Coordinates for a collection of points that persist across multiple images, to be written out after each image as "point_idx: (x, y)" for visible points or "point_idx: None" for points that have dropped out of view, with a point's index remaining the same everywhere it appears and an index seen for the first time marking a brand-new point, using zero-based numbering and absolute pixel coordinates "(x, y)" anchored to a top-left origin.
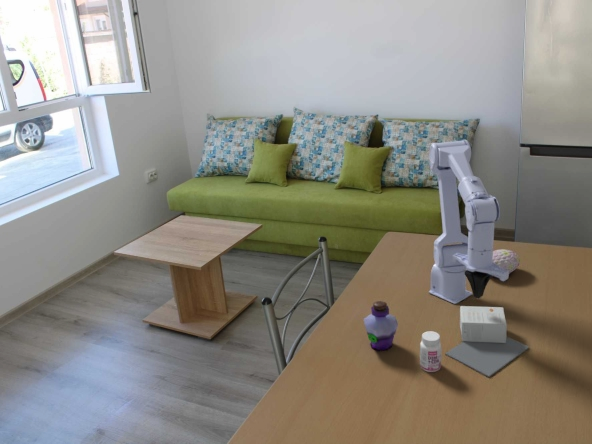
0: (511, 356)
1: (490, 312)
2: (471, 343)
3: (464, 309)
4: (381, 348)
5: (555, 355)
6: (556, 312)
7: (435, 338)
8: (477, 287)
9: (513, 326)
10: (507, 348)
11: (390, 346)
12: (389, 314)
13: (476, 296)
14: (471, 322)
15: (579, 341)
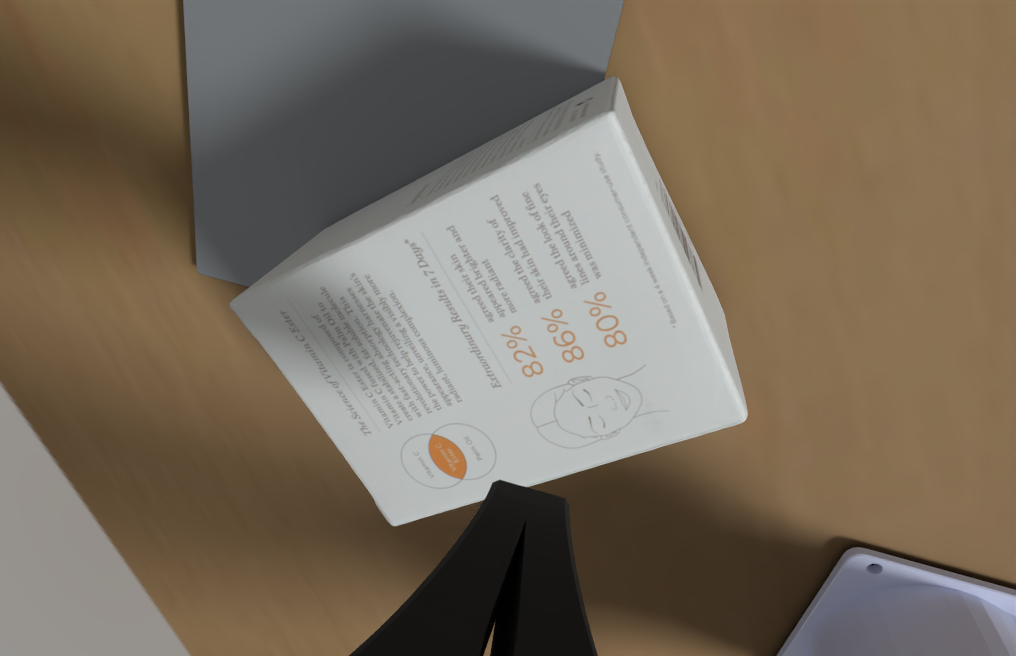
0: (208, 93)
1: (437, 422)
2: (530, 93)
3: (684, 376)
4: None
5: (63, 270)
6: (290, 631)
7: None
8: (434, 615)
9: None
10: (282, 178)
11: None
12: None
13: (510, 497)
14: (512, 168)
15: (73, 447)
